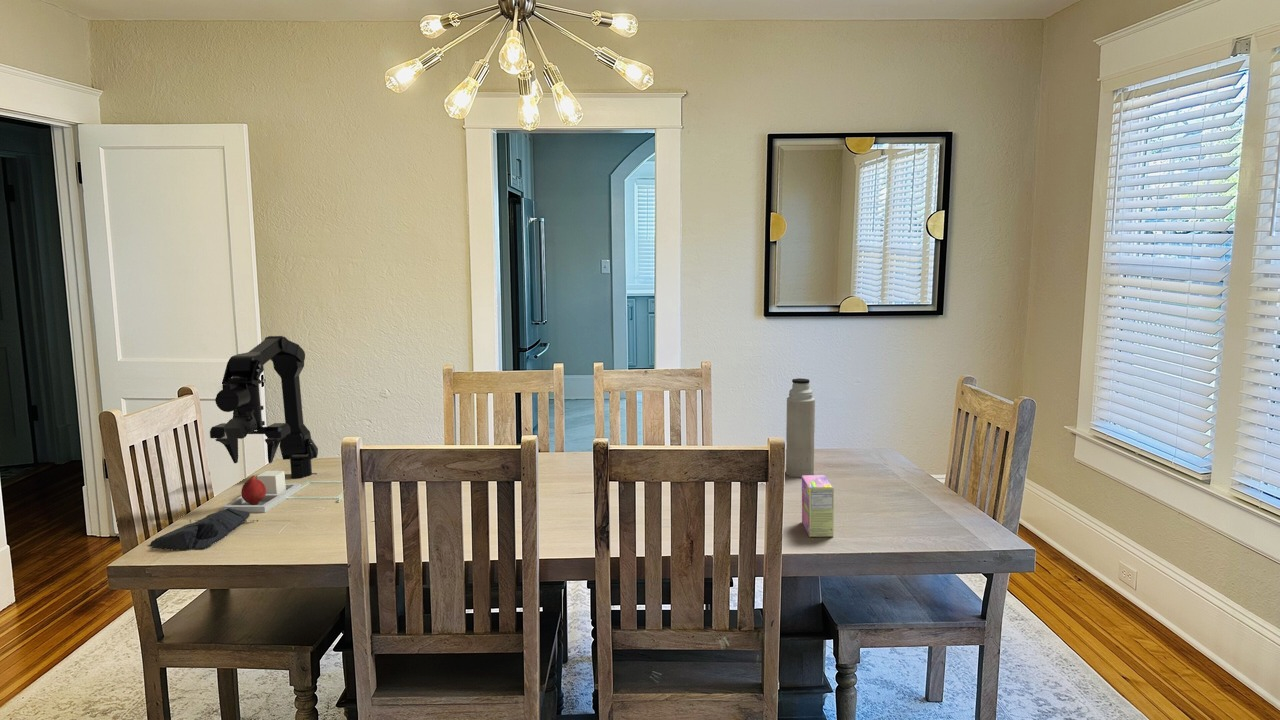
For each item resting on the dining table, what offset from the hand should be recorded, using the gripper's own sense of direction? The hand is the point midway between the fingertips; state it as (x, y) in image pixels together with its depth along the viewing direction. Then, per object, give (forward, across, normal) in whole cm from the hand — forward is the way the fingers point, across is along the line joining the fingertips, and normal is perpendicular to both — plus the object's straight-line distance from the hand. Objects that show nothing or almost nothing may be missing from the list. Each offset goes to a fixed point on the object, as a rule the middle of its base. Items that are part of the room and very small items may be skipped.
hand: (253, 463), depth 209 cm
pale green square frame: (+12, +12, +13) cm, 21 cm away
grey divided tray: (+12, 0, +4) cm, 13 cm away
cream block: (+11, 0, +9) cm, 14 cm away
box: (+12, +143, -15) cm, 144 cm away
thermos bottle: (+13, +146, +32) cm, 150 cm away
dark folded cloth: (+13, -3, -18) cm, 23 cm away
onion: (+12, 0, -1) cm, 12 cm away
